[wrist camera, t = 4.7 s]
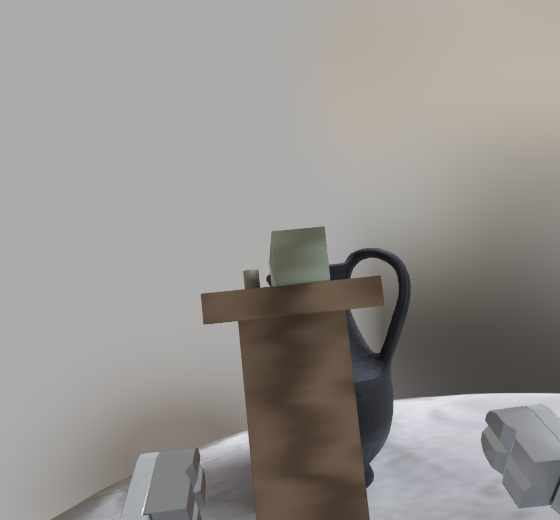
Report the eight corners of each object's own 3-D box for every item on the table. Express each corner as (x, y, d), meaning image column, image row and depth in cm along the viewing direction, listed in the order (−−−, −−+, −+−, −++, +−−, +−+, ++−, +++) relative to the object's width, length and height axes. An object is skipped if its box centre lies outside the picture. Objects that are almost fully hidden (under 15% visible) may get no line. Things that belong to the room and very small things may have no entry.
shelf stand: (375, 555, 34) (341, 265, 37) (432, 696, 23) (378, 253, 25) (247, 572, 34) (221, 277, 36) (237, 726, 22) (198, 271, 24)
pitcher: (300, 444, 60) (281, 263, 63) (436, 454, 52) (409, 247, 55) (251, 506, 44) (229, 260, 47) (436, 534, 37) (398, 236, 39)
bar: (296, 285, 35) (293, 260, 35) (330, 279, 16) (324, 226, 17) (271, 287, 35) (269, 262, 35) (277, 284, 16) (271, 231, 16)
